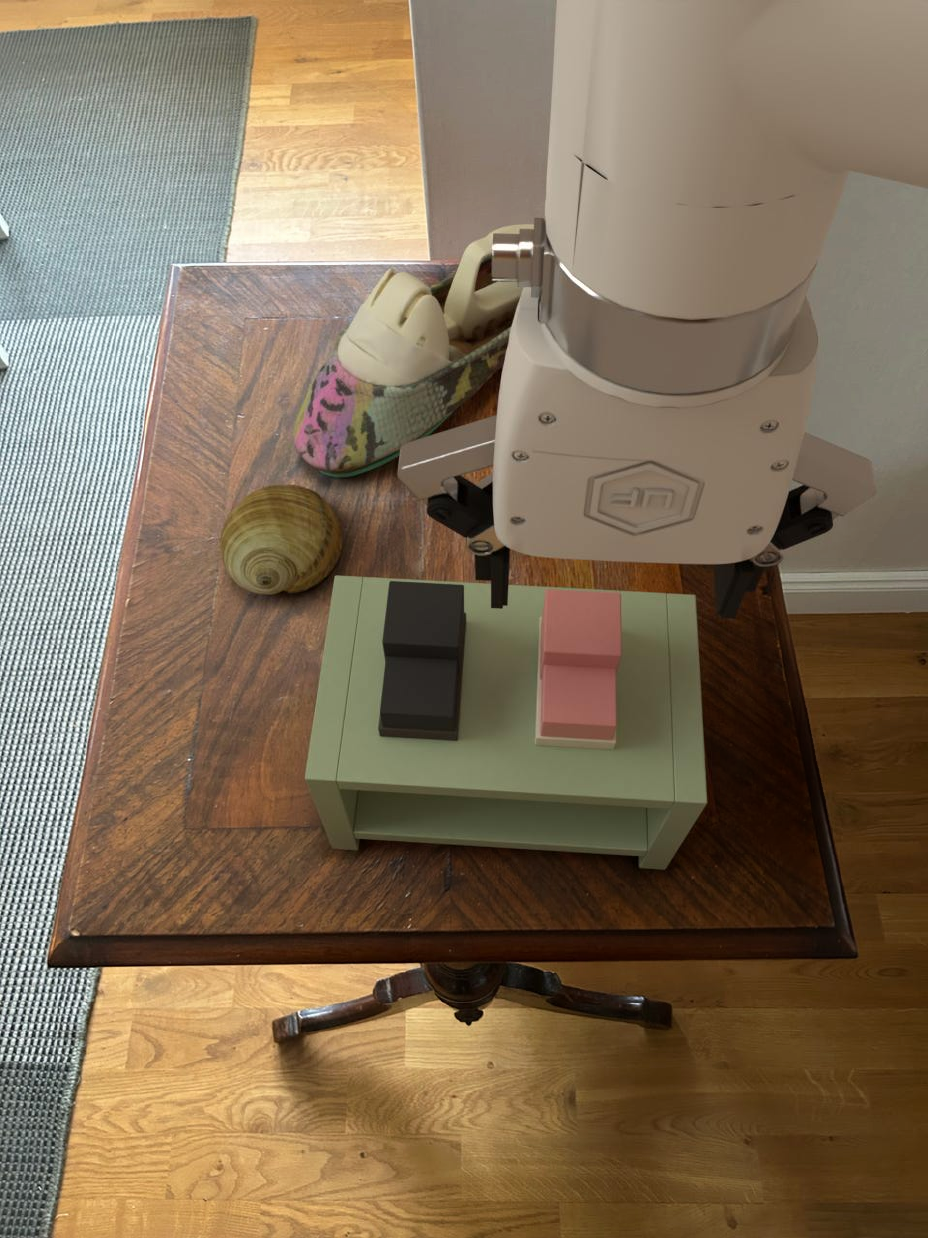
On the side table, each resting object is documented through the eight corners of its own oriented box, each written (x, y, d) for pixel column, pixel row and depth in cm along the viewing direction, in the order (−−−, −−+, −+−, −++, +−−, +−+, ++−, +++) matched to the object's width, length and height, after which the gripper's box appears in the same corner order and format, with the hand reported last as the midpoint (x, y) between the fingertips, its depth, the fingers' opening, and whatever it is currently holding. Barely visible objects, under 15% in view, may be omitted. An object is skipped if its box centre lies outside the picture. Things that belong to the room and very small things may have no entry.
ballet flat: (259, 423, 77) (230, 317, 68) (557, 247, 86) (568, 131, 77) (341, 511, 73) (322, 410, 64) (643, 316, 82) (666, 203, 73)
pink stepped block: (538, 625, 55) (543, 584, 51) (612, 629, 55) (623, 588, 51) (534, 745, 51) (540, 711, 48) (613, 750, 51) (625, 716, 47)
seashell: (292, 541, 77) (207, 485, 72) (358, 491, 73) (274, 430, 68) (290, 640, 70) (196, 587, 65) (362, 591, 67) (270, 531, 62)
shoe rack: (659, 688, 66) (695, 594, 56) (665, 870, 60) (707, 803, 50) (355, 670, 67) (334, 574, 56) (332, 849, 61) (304, 779, 50)
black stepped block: (392, 617, 55) (387, 576, 51) (466, 621, 55) (466, 580, 51) (379, 736, 51) (372, 702, 48) (457, 741, 51) (457, 707, 48)
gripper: (358, 363, 28) (405, 652, 43) (1005, 383, 27) (822, 671, 42) (386, 183, 31) (420, 507, 46) (956, 195, 30) (803, 521, 45)
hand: (610, 584), depth 44 cm, fingers open, 9 cm apart
